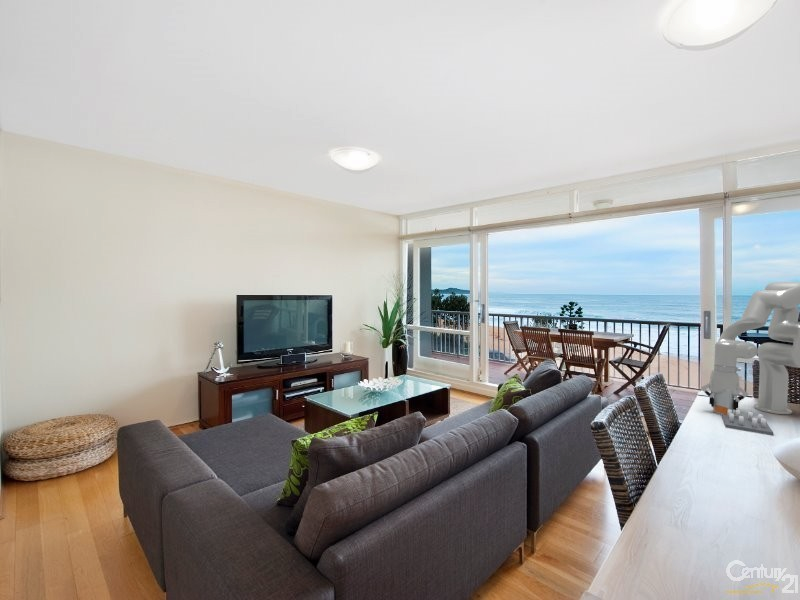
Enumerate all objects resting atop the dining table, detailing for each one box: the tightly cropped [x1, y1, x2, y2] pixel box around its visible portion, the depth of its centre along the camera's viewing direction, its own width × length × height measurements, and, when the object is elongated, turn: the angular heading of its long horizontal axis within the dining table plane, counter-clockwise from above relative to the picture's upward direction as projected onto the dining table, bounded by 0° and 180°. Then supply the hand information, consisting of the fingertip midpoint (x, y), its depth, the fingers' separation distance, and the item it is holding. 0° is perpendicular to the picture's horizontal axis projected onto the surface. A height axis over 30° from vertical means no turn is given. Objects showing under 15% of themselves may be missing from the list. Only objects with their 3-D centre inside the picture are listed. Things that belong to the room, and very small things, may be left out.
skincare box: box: [712, 389, 735, 415], centre depth 169 cm, size 6×4×12 cm
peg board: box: [721, 409, 774, 436], centre depth 155 cm, size 16×14×5 cm
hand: (723, 407), depth 169 cm, fingers closed on skincare box, 7 cm apart
